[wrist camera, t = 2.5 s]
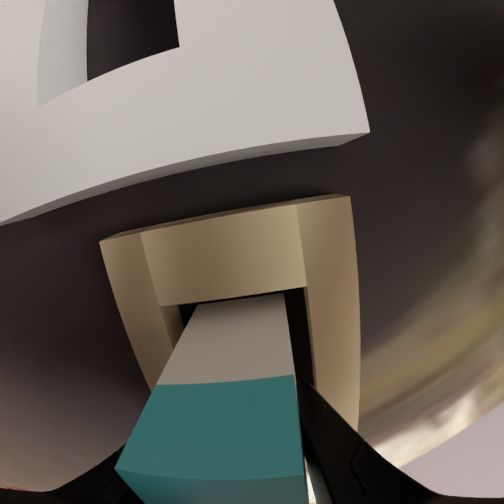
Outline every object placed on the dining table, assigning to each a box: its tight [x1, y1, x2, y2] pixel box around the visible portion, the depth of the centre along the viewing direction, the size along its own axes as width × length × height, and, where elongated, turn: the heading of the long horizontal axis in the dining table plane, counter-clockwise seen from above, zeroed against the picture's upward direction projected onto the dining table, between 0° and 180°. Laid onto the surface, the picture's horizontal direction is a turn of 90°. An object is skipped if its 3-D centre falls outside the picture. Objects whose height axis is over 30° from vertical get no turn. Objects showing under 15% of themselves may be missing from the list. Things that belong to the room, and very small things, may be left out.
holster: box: [99, 193, 360, 466], centre depth 10 cm, size 7×11×2 cm
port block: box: [0, 0, 370, 226], centre depth 6 cm, size 12×12×3 cm
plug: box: [114, 293, 309, 504], centre depth 7 cm, size 3×5×7 cm, turn 10°
